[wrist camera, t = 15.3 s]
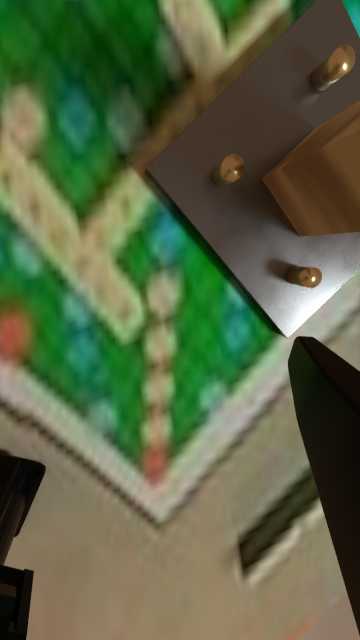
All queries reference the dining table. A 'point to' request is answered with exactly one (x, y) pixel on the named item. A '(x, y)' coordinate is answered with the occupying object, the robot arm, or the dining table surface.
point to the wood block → (322, 178)
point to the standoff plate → (269, 167)
